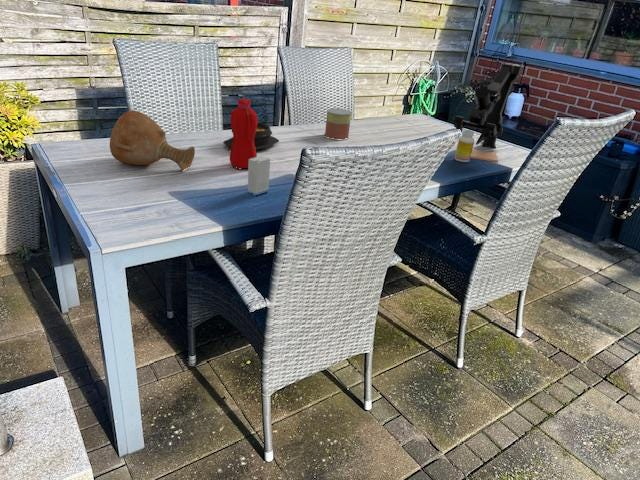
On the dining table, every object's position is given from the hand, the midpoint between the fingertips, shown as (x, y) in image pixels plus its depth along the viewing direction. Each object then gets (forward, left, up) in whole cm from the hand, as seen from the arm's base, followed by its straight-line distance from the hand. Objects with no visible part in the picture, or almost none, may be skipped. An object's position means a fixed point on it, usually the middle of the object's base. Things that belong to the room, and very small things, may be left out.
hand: (466, 141), depth 217 cm
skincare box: (+72, -70, -8) cm, 101 cm away
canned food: (-8, -58, -8) cm, 59 cm away
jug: (+64, -113, -9) cm, 131 cm away
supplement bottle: (0, 0, -8) cm, 9 cm away
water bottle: (+50, -83, -8) cm, 98 cm away
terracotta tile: (-11, +10, -8) cm, 17 cm away
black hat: (+24, -89, -9) cm, 93 cm away
